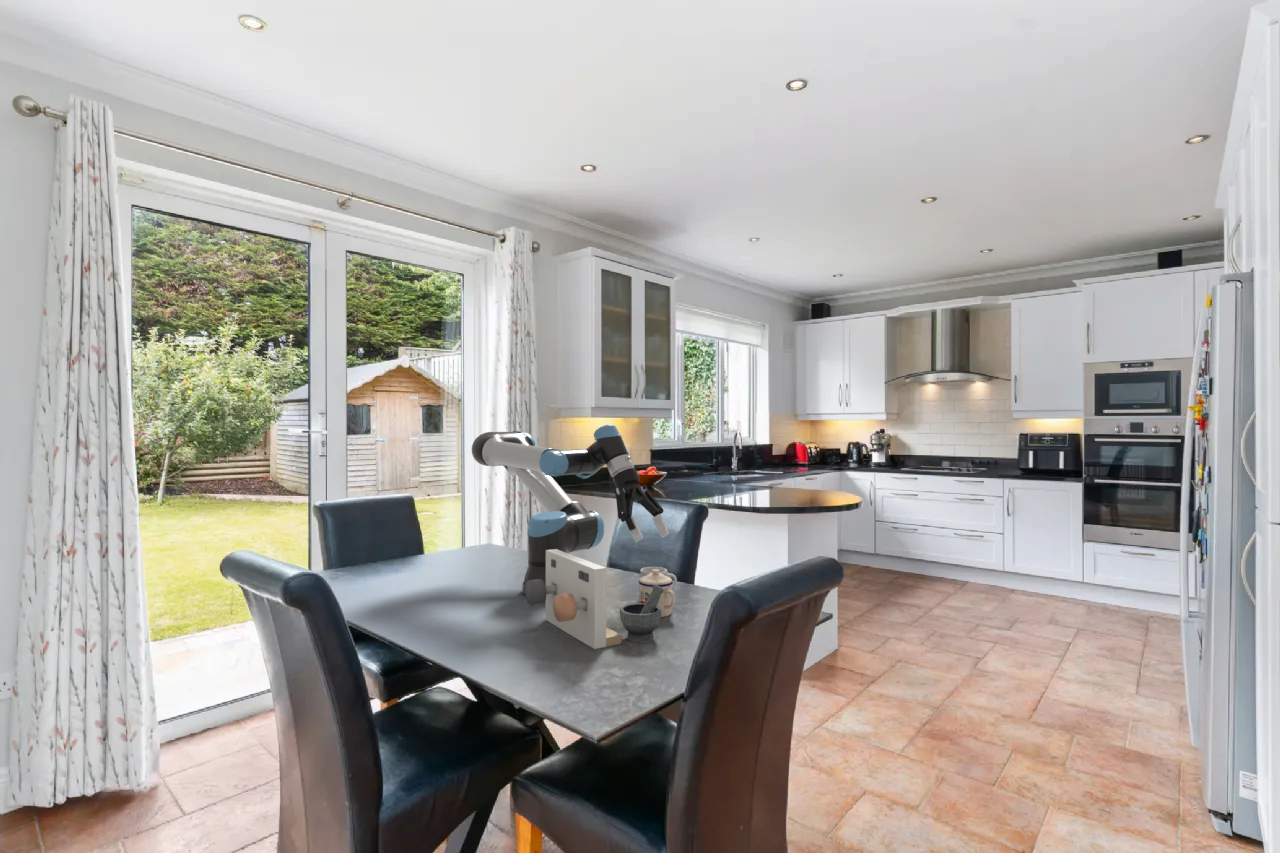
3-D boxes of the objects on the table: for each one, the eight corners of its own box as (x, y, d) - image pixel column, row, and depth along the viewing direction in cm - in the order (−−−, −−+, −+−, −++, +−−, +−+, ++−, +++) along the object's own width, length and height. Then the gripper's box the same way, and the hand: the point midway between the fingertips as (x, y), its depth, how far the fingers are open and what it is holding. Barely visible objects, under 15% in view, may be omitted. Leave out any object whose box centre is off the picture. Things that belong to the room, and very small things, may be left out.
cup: (677, 594, 196) (677, 567, 196) (676, 601, 188) (676, 573, 188) (641, 592, 197) (641, 566, 197) (638, 600, 189) (638, 572, 189)
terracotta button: (564, 625, 146) (564, 598, 146) (552, 618, 151) (553, 592, 151) (601, 618, 151) (601, 592, 151) (589, 611, 156) (589, 586, 156)
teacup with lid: (631, 612, 176) (631, 569, 176) (656, 606, 182) (657, 564, 182) (661, 623, 167) (662, 577, 167) (687, 616, 173) (687, 572, 173)
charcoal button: (535, 607, 160) (535, 583, 159) (525, 602, 165) (525, 578, 164) (570, 602, 165) (570, 578, 165) (559, 596, 170) (559, 573, 170)
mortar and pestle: (632, 647, 149) (632, 594, 149) (612, 635, 158) (612, 585, 157) (673, 639, 155) (673, 588, 155) (652, 628, 163) (652, 580, 163)
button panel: (593, 649, 148) (593, 569, 148) (544, 619, 170) (544, 550, 169) (621, 643, 152) (621, 565, 152) (569, 615, 174) (570, 547, 173)
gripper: (607, 466, 184) (637, 536, 177) (655, 466, 204) (684, 528, 197) (588, 479, 187) (617, 547, 180) (638, 478, 208) (666, 539, 201)
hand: (652, 538), depth 189 cm, fingers open, 13 cm apart
